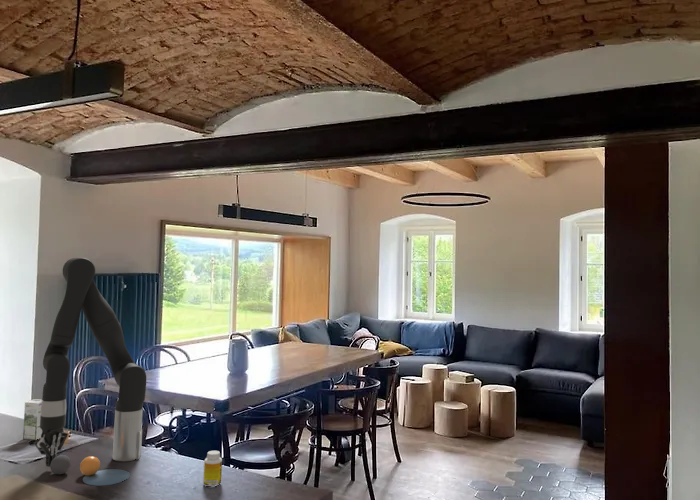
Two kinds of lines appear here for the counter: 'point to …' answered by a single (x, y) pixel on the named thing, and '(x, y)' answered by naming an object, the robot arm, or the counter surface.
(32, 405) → the syrup box
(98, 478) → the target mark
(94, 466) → the object ball
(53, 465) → the cue ball
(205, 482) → the supplement bottle
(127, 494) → the counter surface
